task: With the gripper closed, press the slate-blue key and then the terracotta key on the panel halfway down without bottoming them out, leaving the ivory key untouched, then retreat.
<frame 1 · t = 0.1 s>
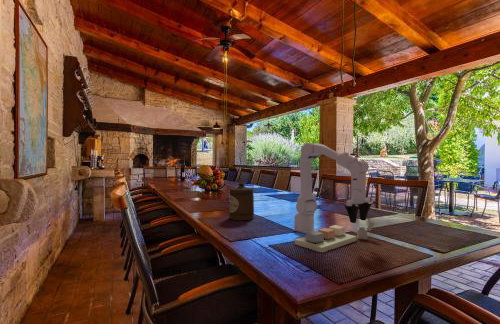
hand: (358, 221, 117), 10 cm above the table, fingers open, 7 cm apart
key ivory: (336, 230, 126), point 4 cm above the table, slide at 0.0 cm
key terracotta: (326, 233, 121), point 4 cm above the table, slide at 0.0 cm
lighter: (365, 239, 127), on the table
panel: (326, 242, 121), on the table
key slate: (314, 236, 116), point 4 cm above the table, slide at 0.0 cm
wooden container: (241, 218, 169), on the table
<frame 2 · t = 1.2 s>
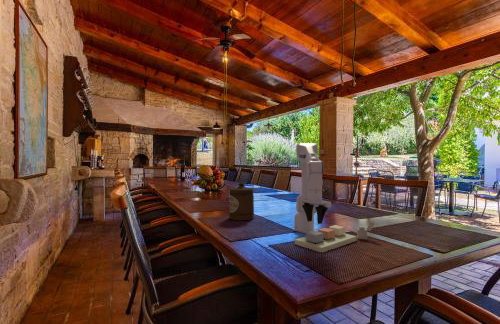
hand: (314, 222, 116), 10 cm above the table, fingers open, 5 cm apart
nothing on the table moved.
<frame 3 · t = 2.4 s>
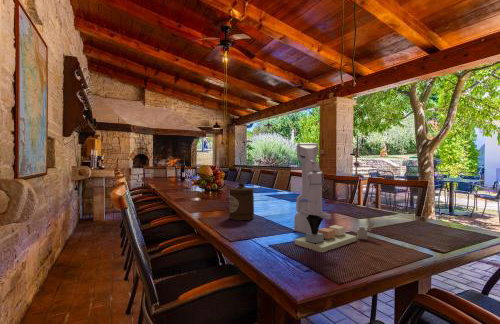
hand: (314, 233, 116), 5 cm above the table, fingers closed, pressing on key slate
key slate: (314, 237, 116), point 4 cm above the table, slide at 0.3 cm, touching gripper
everything else where it was.
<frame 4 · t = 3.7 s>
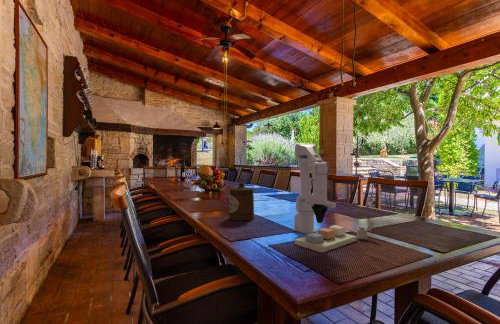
hand: (319, 222, 119), 9 cm above the table, fingers closed
key slate: (314, 238, 116), point 3 cm above the table, slide at 0.9 cm
everything else where it was.
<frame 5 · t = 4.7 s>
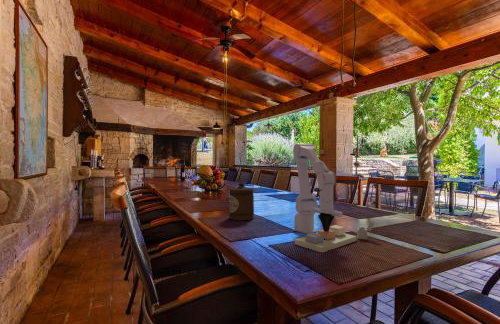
hand: (326, 231, 121), 5 cm above the table, fingers closed, pressing on key terracotta
key terracotta: (326, 234, 121), point 4 cm above the table, slide at 0.5 cm, touching gripper
everything else where it was.
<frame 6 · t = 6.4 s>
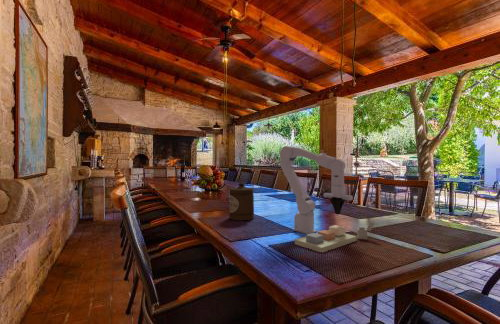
hand: (337, 214, 131), 10 cm above the table, fingers closed
key terracotta: (326, 235, 121), point 3 cm above the table, slide at 0.9 cm
everything else where it was.
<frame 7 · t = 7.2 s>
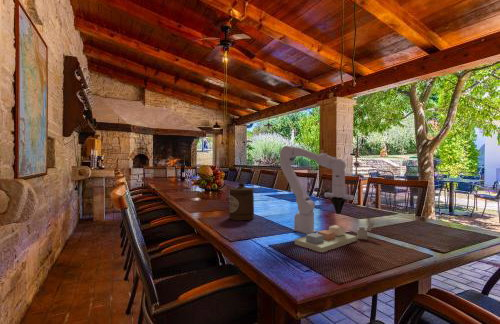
hand: (338, 213, 132), 10 cm above the table, fingers closed
nothing on the table moved.
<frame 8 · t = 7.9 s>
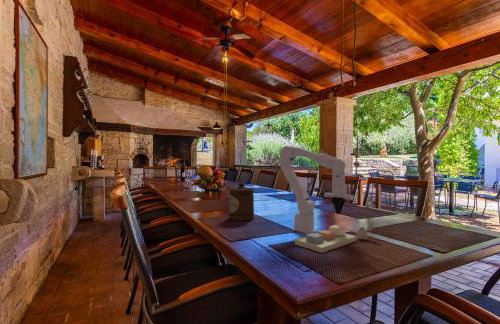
hand: (338, 213, 132), 10 cm above the table, fingers closed
nothing on the table moved.
at the end: key slate slide at 0.9 cm; key terracotta slide at 0.9 cm; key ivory slide at 0.0 cm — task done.
